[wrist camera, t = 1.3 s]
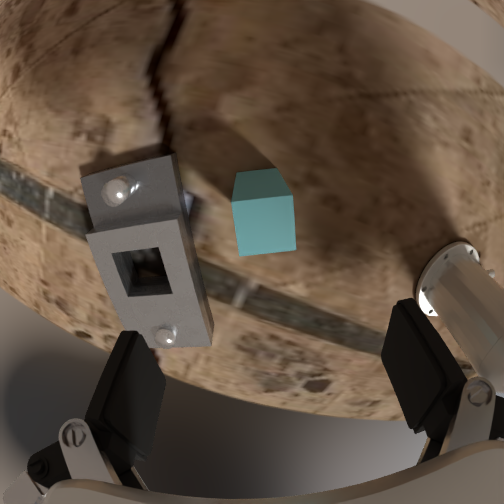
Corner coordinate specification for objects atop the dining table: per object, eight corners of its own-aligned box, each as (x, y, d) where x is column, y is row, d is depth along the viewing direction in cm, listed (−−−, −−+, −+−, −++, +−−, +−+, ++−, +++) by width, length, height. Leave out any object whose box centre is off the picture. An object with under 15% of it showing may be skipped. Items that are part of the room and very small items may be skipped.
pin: (276, 168, 26) (292, 195, 17) (280, 205, 28) (296, 250, 19) (236, 172, 26) (231, 202, 18) (241, 210, 28) (239, 256, 19)
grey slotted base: (175, 152, 25) (161, 160, 21) (214, 324, 35) (210, 351, 31) (89, 174, 26) (65, 185, 21) (142, 327, 36) (132, 352, 31)
